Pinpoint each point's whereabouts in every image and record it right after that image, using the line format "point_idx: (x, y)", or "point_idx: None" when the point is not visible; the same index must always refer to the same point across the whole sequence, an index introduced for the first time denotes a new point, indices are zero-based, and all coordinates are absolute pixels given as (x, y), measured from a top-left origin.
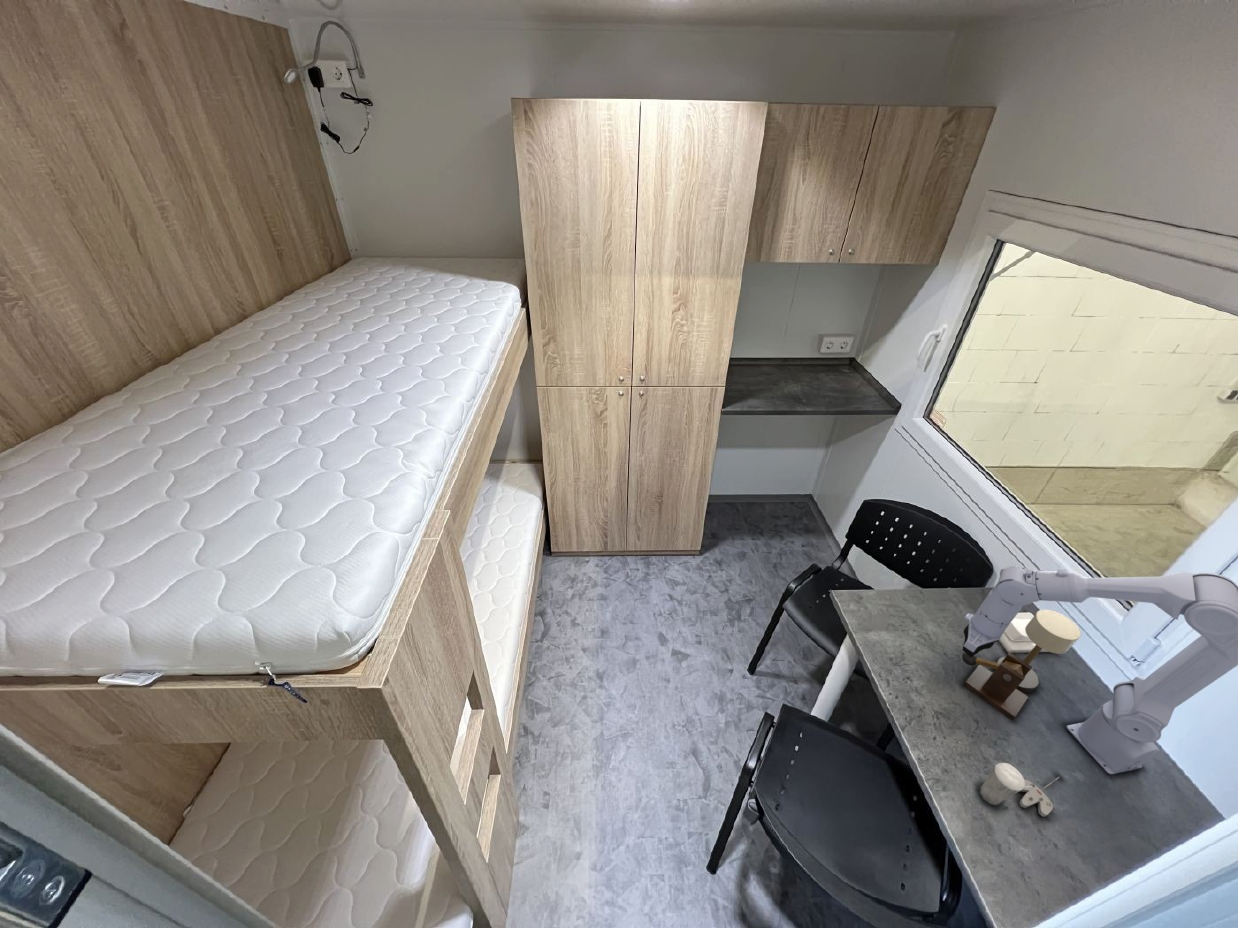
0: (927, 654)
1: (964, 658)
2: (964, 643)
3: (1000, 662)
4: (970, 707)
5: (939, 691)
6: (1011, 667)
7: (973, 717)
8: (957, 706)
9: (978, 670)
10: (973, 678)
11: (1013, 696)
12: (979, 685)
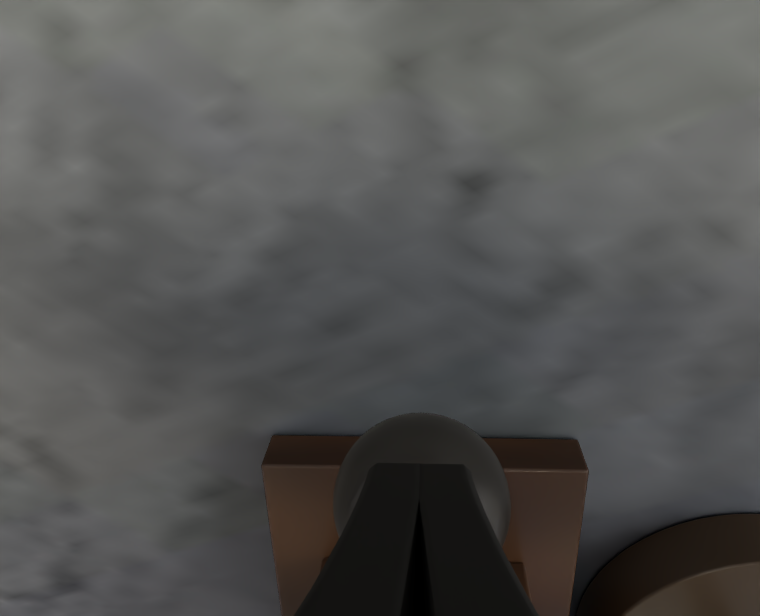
0: (291, 61)
1: (342, 473)
2: (309, 591)
3: (753, 581)
4: (127, 529)
5: (10, 344)
6: None
7: (74, 564)
8: (38, 476)
9: None
10: None
11: None
12: (332, 541)
